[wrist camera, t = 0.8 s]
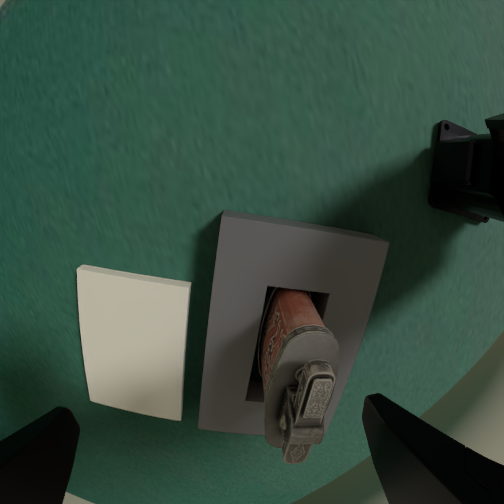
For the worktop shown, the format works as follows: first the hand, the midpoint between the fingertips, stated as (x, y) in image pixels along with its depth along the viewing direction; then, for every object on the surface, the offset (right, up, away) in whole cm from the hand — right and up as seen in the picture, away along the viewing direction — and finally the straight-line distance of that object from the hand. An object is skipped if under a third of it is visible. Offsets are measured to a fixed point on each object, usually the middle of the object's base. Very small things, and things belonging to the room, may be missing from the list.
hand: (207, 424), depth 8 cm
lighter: (+3, -1, +14) cm, 15 cm away
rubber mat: (-8, -2, +14) cm, 16 cm away
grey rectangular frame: (+3, -1, +14) cm, 14 cm away
